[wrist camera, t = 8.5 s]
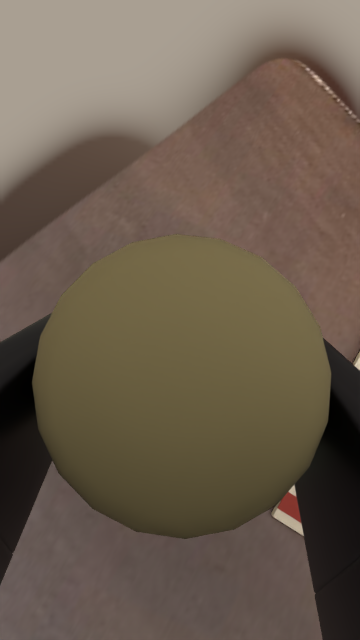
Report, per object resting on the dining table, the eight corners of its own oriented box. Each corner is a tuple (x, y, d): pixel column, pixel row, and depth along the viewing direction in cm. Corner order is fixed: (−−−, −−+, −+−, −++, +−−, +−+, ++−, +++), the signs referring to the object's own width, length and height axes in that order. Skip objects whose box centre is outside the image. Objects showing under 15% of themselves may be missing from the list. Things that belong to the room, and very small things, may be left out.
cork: (168, 279, 16) (126, 102, 5) (274, 349, 15) (487, 322, 4) (96, 383, 15) (-130, 441, 4) (202, 459, 15) (245, 739, 4)
